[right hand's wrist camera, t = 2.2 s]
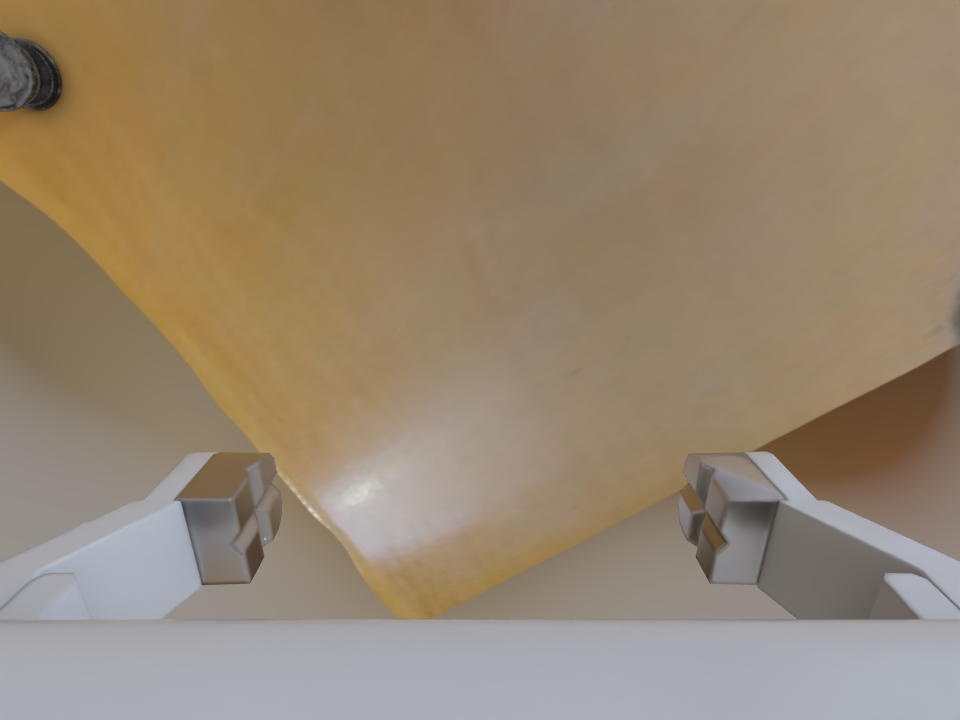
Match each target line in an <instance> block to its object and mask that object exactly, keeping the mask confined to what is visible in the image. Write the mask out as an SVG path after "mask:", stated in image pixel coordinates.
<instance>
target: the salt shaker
mask: <svg viewBox="0 0 960 720" xmlns="http://www.w3.org/2000/svg"><path fill="white" fill-rule="evenodd" d="M60 92H61V77H60V74H59V70H58V68H57V66H56V64H55V62H54V61H53V59H52V58H51V57H50V56H49V54H48V53H47V52H46V51H45V50H44V49H42V48H41V47H40V46H39V45H37V44H35V43H33V42H31V41H28V40H25V39H21V38H16V39H11V38H9V37H8V36H7V35H6V34H4V33H2V32H0V111H14V110H16V109H19V108H21V107H22V106H23V107H25V108H28V109H32V110H44V109H47V108H50V107H51V106H52V105H53V104H55V103H56V101H57V100H58V98H59V96H60Z"/></svg>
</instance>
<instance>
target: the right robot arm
mask: <svg viewBox="0 0 960 720" xmlns="http://www.w3.org/2000/svg"><path fill="white" fill-rule="evenodd" d="M276 473H277V470H276V466H275V461H274V457H273V456H272V455H271V454H270V453H238V452H219V453H218V452H193V453H189V454H187V455H186V456H185V457H184V458H183V459H182V460H181V461H180V463H179V464H178V465H177V466H176V467H175V468H174V469H173V470H172V471H171V472H170V473H169V474H168V475H167V476H166V477H165V478H164V479H163V480H162V481H161V482H160V483H159V484H158V485H157V486H156V487H155V488H154V489H153V491H152V492H151V493H150V494H149V495H148V496H147V497H146V498H145V499H144V500H143V501H132V502H130V503H128V504H126V505H124V506H121V507H119V508H117V509H115V510H113V511H110V512H108V513H106V514H104V515H102V516H99V517H97V518H95V519H93V520H91V521H88V522H86V523H84V524H82V525H80V526H77V527H75V528H73V529H71V530H69V531H66V532H64V533H62V534H60V535H58V536H55V537H53V538H51V539H49V540H47V541H44V542H42V543H40V544H38V545H36V546H34V547H31V548H29V549H27V550H25V551H23V552H20V553H18V554H16V555H14V556H12V557H9V558H7V559H5V560H3V561H1V562H0V720H960V562H959V561H957V560H955V559H952V558H950V557H948V556H946V555H944V554H942V553H939V552H937V551H935V550H933V549H931V548H928V547H926V546H924V545H922V544H920V543H917V542H915V541H913V540H911V539H909V538H906V537H904V536H902V535H900V534H898V533H895V532H893V531H891V530H889V529H887V528H885V527H882V526H880V525H878V524H876V523H873V522H871V521H869V520H867V519H865V518H863V517H860V516H858V515H856V514H854V513H852V512H849V511H847V510H845V509H843V508H841V507H839V506H836V505H834V504H832V503H830V502H828V501H817V500H816V499H815V498H814V497H813V496H812V495H811V494H810V493H809V492H808V490H807V489H806V488H805V487H804V486H803V485H802V484H801V483H800V482H799V481H798V480H797V479H796V478H795V477H794V476H793V475H792V474H791V473H790V472H789V471H788V470H787V469H786V468H785V467H784V466H783V465H782V463H781V462H780V461H779V460H778V459H777V458H776V457H775V456H774V455H773V454H771V453H768V452H742V453H705V454H688V456H687V458H686V461H685V465H684V470H683V473H684V475H685V476H686V478H687V480H688V481H689V483H688V484H687V485H686V486H685V487H684V488H683V489H682V490H681V491H680V494H679V502H678V513H679V522H680V525H681V528H682V531H683V533H684V535H685V537H686V539H687V540H688V541H689V542H691V543H692V544H694V545H695V546H697V553H696V558H697V560H698V562H699V564H700V566H701V568H702V569H703V571H704V573H705V575H706V577H707V579H708V581H709V582H710V584H742V585H758V588H759V589H761V590H762V591H763V592H764V593H766V594H767V595H768V596H769V597H771V598H772V599H773V600H774V601H776V602H777V603H778V604H779V605H781V606H782V607H783V608H784V609H786V610H787V611H788V612H789V613H791V614H792V615H793V616H794V617H796V618H797V619H483V620H482V619H459V620H457V619H455V620H454V619H435V620H434V619H395V620H393V619H389V620H388V619H385V620H384V619H375V620H374V619H163V618H164V617H166V616H167V615H168V614H169V613H171V612H172V611H173V610H175V609H176V608H177V607H178V606H179V605H181V604H182V603H183V602H185V601H186V600H187V599H188V598H190V597H191V596H192V595H193V594H195V593H196V592H197V591H198V590H200V589H201V588H202V585H217V584H250V583H251V581H252V579H253V577H254V575H255V573H256V571H257V569H258V568H259V566H260V564H261V562H262V560H263V558H264V553H263V546H265V545H266V544H268V543H269V542H271V541H272V540H273V539H274V537H275V535H276V533H277V531H278V529H279V525H280V520H281V516H282V500H281V494H280V491H279V490H278V489H277V488H276V487H275V486H274V485H273V484H272V483H271V481H272V480H273V478H274V476H275V475H276Z"/></svg>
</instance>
